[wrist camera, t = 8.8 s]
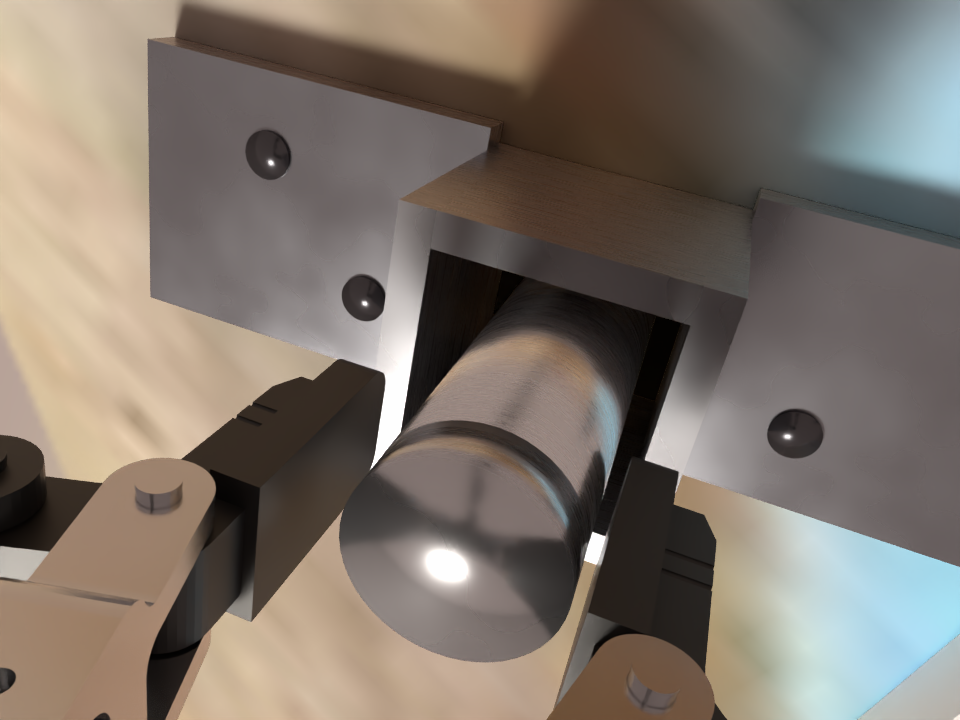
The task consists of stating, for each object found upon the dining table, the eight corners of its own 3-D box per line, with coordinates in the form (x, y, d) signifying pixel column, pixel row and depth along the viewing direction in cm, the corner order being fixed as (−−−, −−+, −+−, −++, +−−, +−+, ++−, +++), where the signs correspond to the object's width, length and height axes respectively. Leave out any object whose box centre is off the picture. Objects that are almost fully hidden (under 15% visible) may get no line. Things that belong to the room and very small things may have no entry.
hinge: (173, 37, 20) (-28, 52, 15) (1218, 305, 16) (1442, 459, 11) (173, 285, 24) (6, 367, 18) (1039, 569, 19) (1142, 787, 14)
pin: (548, 213, 19) (352, 425, 10) (677, 248, 19) (602, 509, 9) (521, 330, 21) (328, 611, 11) (640, 366, 20) (542, 694, 11)
